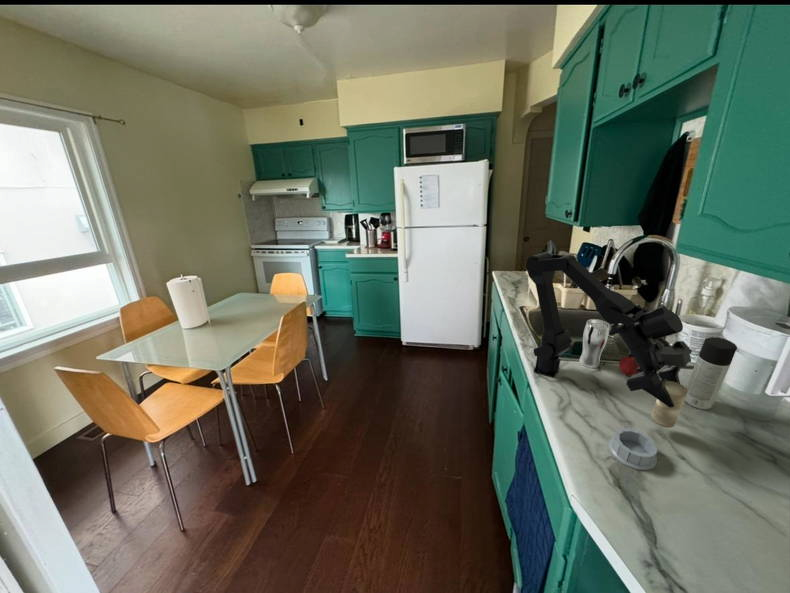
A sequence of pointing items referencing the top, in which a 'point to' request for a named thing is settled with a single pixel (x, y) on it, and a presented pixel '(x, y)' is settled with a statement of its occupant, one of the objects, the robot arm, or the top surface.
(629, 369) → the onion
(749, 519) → the top surface
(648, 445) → the round socket
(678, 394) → the birch plug
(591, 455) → the top surface
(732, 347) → the spray can
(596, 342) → the beer glass
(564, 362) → the top surface
